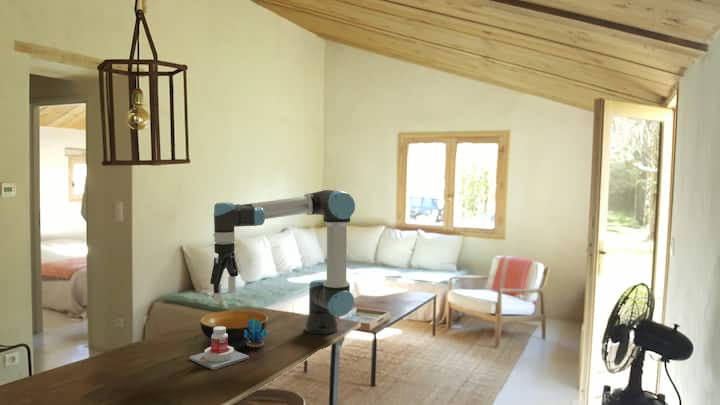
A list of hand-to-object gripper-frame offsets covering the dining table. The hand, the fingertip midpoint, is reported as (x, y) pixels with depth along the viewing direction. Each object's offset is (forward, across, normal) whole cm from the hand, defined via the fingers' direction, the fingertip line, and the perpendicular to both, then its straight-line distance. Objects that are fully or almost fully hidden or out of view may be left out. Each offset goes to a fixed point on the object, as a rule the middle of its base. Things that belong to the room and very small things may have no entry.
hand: (224, 296), depth 200 cm
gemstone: (+24, -15, +7) cm, 29 cm away
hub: (+23, +4, -1) cm, 24 cm away
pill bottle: (+22, +4, -1) cm, 23 cm away
